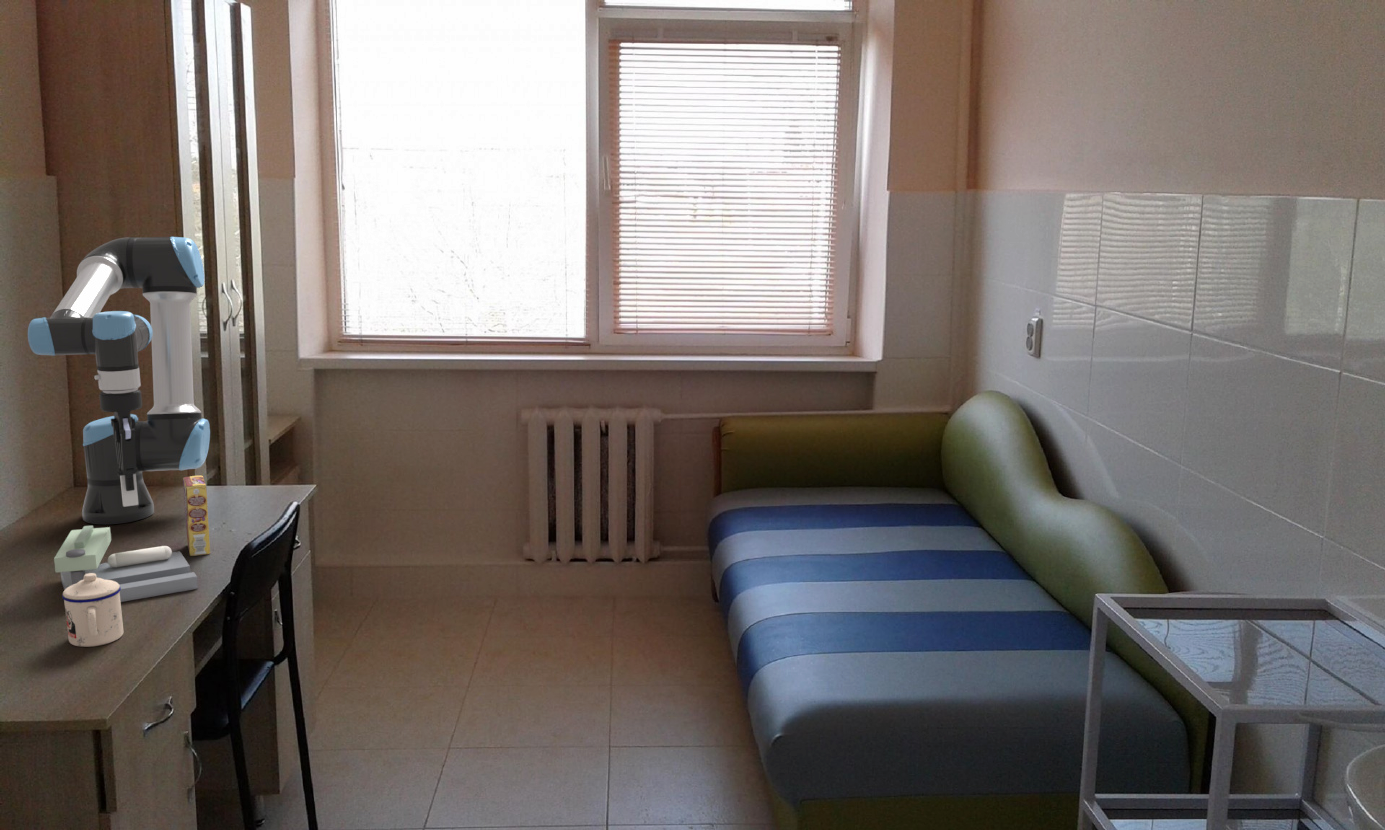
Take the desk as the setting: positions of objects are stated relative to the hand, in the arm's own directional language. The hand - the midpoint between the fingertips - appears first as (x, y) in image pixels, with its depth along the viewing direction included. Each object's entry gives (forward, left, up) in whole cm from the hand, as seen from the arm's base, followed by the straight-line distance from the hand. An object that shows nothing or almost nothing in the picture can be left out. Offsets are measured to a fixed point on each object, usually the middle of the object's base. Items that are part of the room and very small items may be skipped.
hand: (130, 504), depth 243 cm
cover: (+7, -10, -7) cm, 14 cm away
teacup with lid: (+38, -12, -14) cm, 42 cm away
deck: (+11, -3, -13) cm, 17 cm away
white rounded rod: (+6, 0, -9) cm, 11 cm away
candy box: (-5, +13, -14) cm, 20 cm away
